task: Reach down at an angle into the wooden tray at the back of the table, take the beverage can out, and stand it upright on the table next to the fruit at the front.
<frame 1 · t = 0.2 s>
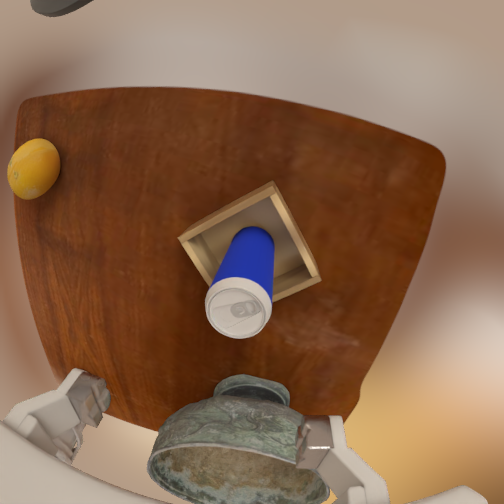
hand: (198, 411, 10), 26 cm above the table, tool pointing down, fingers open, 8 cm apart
wooden tray: (253, 244, 35), on the table
lantern: (88, 380, 50), on the table
decorative bowl: (249, 396, 45), on the table
fruit: (51, 165, 33), on the table
beverage can: (253, 244, 35), resting on wooden tray
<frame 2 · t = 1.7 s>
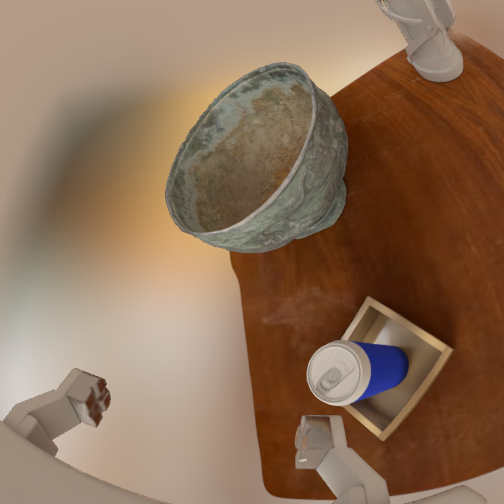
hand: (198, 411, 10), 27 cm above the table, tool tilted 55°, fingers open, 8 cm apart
wooden tray: (390, 366, 28), on the table
lantern: (444, 69, 32), on the table
decorative bowl: (314, 202, 45), on the table
beverage can: (390, 366, 28), resting on wooden tray
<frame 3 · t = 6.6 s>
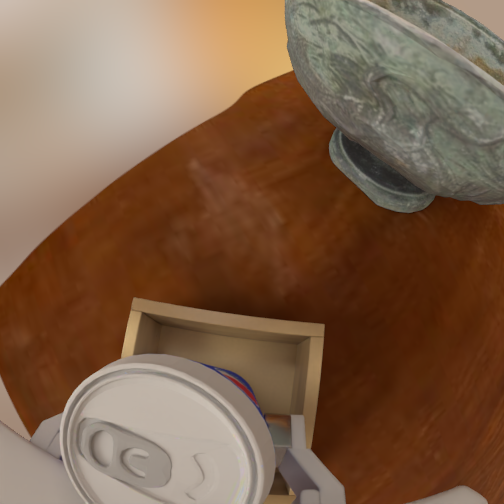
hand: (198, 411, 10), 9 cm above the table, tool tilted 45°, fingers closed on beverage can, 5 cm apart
wooden tray: (219, 403, 18), on the table
decorative bowl: (386, 167, 28), on the table
beverage can: (219, 403, 18), resting on wooden tray, touching gripper
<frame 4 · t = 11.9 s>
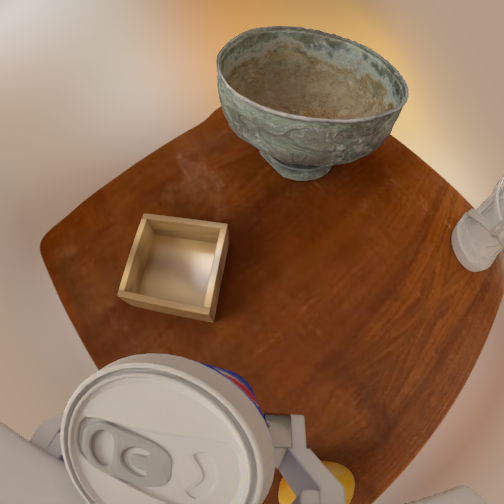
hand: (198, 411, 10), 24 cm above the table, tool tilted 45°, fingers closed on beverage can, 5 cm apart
wooden tray: (180, 273, 37), on the table
lantern: (467, 252, 40), on the table
decorative bowl: (297, 155, 47), on the table
fruit: (309, 479, 26), on the table
beverage can: (218, 403, 18), point 15 cm above the table, touching gripper
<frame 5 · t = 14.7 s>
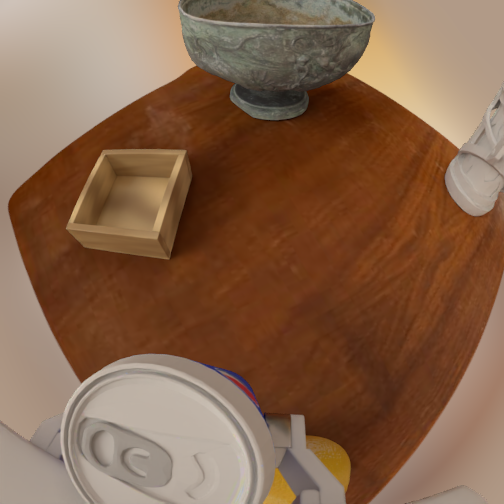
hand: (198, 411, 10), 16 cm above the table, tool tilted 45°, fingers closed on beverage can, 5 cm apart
wooden tray: (137, 210, 32), on the table
lantern: (464, 196, 36), on the table
decorative bowl: (270, 100, 42), on the table
fruit: (290, 462, 21), on the table
beverage can: (219, 403, 18), point 7 cm above the table, touching gripper
when the fingers open (9 cm above the table, at t = 17.2 s): beverage can stays where it is, on the table.
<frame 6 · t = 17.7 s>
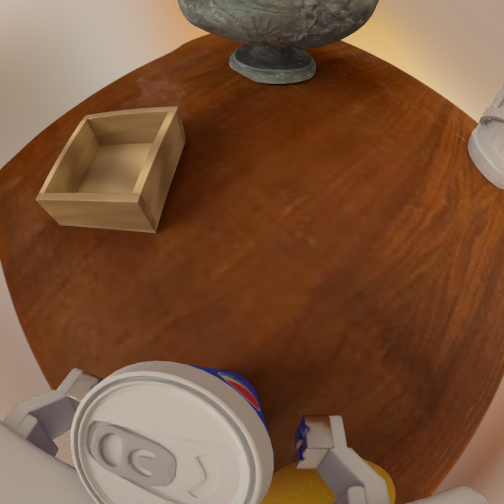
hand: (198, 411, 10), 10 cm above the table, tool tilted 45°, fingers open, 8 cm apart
wooden tray: (121, 179, 26), on the table
lantern: (489, 168, 29), on the table
decorative bowl: (273, 67, 36), on the table
fruit: (313, 488, 15), on the table
beverage can: (223, 403, 18), on the table
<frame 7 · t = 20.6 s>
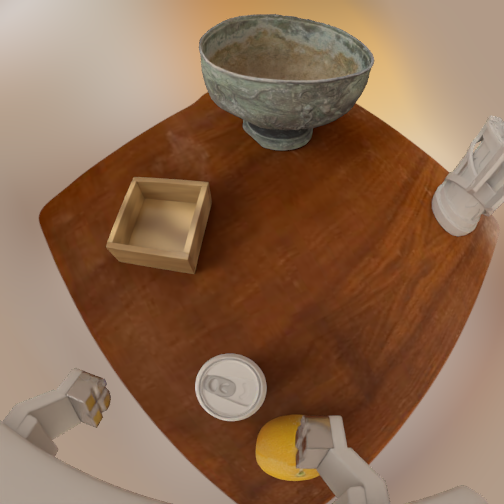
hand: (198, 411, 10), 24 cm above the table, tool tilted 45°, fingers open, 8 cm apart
wooden tray: (165, 230, 40), on the table
lantern: (449, 218, 42), on the table
decorative bowl: (278, 129, 49), on the table
fruit: (290, 439, 28), on the table
beverage can: (237, 382, 32), on the table
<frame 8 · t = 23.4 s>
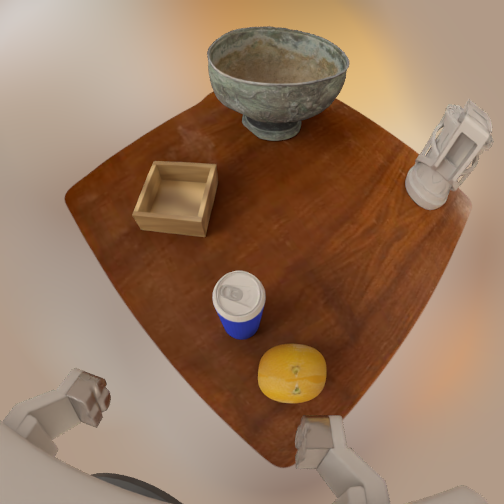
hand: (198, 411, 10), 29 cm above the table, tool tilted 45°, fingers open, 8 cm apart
wooden tray: (180, 204, 48), on the table
lantern: (421, 195, 51), on the table
decorative bowl: (272, 123, 58), on the table
fruit: (287, 373, 37), on the table
beverage can: (241, 322, 40), on the table
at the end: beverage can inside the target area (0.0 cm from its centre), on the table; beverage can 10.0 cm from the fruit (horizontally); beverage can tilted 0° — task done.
